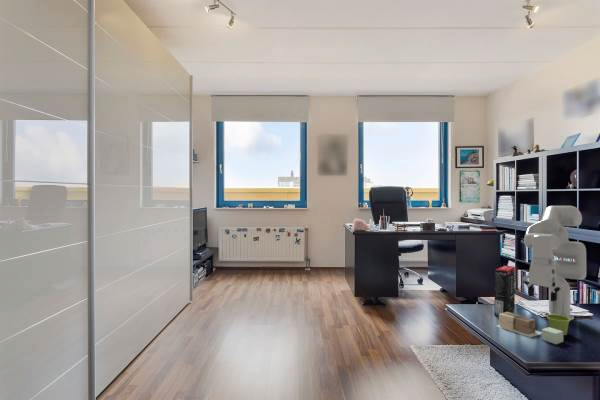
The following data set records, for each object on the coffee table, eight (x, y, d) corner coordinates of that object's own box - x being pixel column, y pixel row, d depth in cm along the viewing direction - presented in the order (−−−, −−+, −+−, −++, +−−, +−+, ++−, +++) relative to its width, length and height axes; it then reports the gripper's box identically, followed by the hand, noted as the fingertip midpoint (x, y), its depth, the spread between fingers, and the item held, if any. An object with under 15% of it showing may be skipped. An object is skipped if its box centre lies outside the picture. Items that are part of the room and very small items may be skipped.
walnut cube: (522, 328, 175) (522, 316, 175) (535, 332, 169) (535, 319, 169) (515, 330, 172) (515, 318, 172) (528, 334, 166) (528, 321, 166)
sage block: (548, 339, 163) (548, 327, 163) (563, 344, 158) (563, 331, 158) (541, 342, 160) (541, 329, 160) (556, 347, 155) (556, 333, 155)
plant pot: (564, 340, 162) (564, 321, 162) (542, 333, 170) (542, 316, 170) (574, 336, 166) (574, 318, 166) (553, 330, 174) (552, 313, 175)
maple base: (507, 323, 182) (507, 311, 182) (521, 327, 176) (520, 315, 176) (499, 325, 179) (498, 313, 179) (512, 329, 172) (512, 317, 172)
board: (508, 324, 183) (508, 322, 183) (543, 335, 168) (543, 332, 168) (495, 328, 178) (495, 325, 178) (530, 339, 163) (530, 337, 163)
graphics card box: (502, 310, 206) (502, 264, 206) (516, 313, 201) (515, 266, 201) (494, 317, 194) (493, 269, 194) (508, 320, 189) (507, 270, 189)
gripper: (567, 263, 156) (567, 302, 156) (527, 258, 172) (527, 293, 171) (557, 264, 153) (558, 304, 152) (518, 259, 168) (518, 294, 168)
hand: (542, 298), depth 162 cm, fingers open, 9 cm apart
